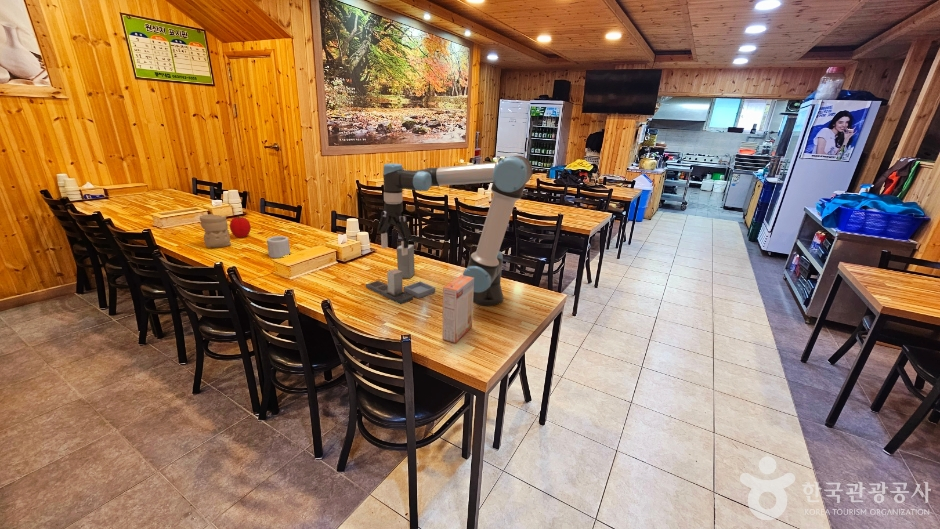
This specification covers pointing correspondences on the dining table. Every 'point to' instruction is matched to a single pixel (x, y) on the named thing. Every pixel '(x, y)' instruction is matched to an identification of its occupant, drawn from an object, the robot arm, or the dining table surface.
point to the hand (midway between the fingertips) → (394, 251)
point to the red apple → (240, 227)
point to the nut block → (394, 282)
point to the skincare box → (406, 262)
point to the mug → (278, 246)
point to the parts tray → (419, 289)
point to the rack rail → (383, 290)
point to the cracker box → (457, 308)
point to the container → (215, 230)
